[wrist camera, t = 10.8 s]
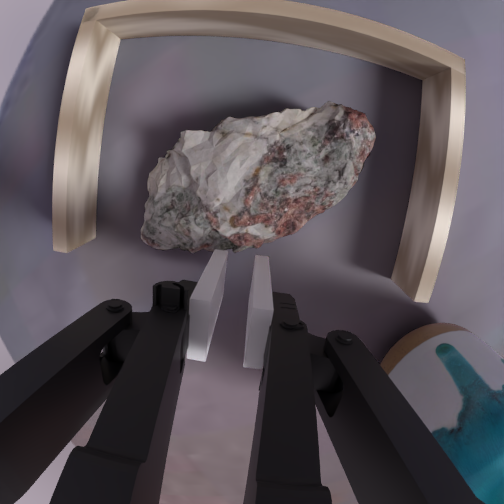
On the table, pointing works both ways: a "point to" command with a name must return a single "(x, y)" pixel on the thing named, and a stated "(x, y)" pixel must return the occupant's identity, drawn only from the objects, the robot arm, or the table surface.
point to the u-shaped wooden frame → (279, 30)
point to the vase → (456, 399)
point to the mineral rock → (254, 178)
